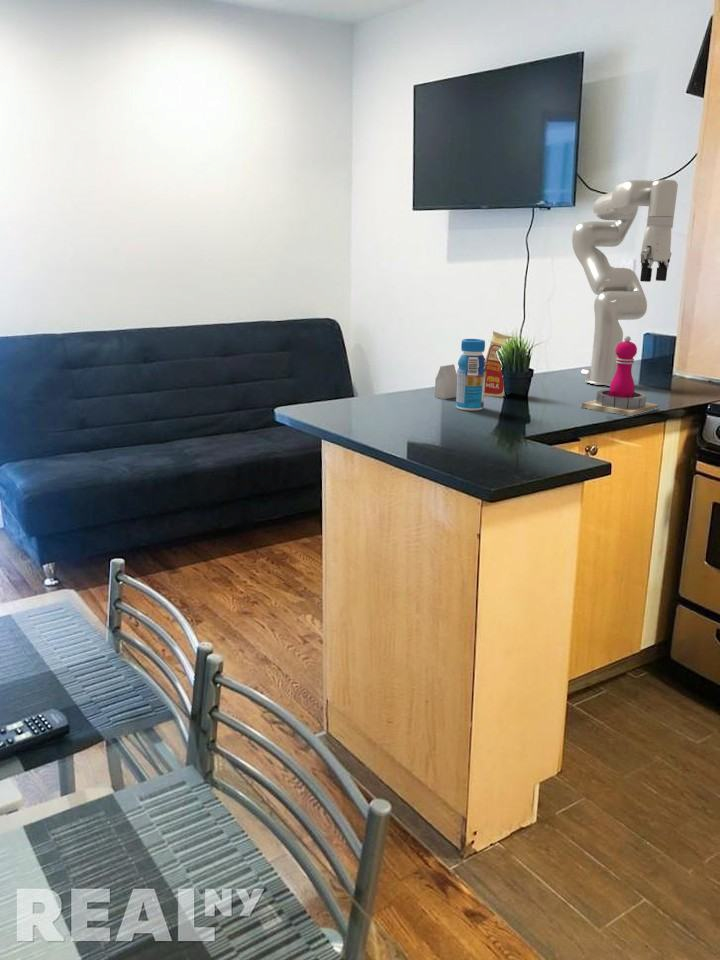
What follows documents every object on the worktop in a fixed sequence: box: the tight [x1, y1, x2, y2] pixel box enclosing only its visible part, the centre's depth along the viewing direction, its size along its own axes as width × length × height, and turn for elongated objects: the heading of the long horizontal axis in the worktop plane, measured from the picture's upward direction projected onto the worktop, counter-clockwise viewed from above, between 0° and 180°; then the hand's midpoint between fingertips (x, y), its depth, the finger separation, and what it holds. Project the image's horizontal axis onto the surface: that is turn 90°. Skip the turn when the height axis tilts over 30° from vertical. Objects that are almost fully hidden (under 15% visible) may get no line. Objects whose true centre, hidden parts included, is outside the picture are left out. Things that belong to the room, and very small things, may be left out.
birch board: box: [581, 399, 659, 416], centre depth 243 cm, size 16×16×2 cm
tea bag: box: [434, 363, 457, 400], centre depth 255 cm, size 4×7×10 cm, turn 137°
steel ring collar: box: [595, 389, 647, 409], centre depth 242 cm, size 14×14×3 cm
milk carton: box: [484, 330, 516, 398], centre depth 260 cm, size 9×9×20 cm
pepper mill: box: [608, 335, 638, 398], centre depth 240 cm, size 7×7×20 cm
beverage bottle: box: [455, 338, 486, 412], centre depth 237 cm, size 8×8×20 cm
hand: (653, 281), depth 252 cm, fingers open, 9 cm apart
